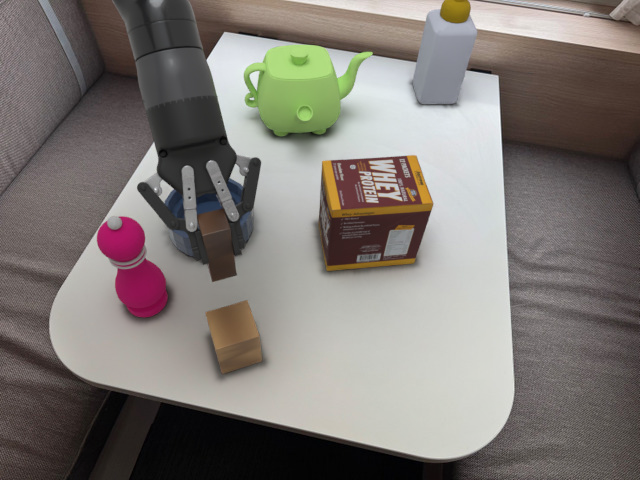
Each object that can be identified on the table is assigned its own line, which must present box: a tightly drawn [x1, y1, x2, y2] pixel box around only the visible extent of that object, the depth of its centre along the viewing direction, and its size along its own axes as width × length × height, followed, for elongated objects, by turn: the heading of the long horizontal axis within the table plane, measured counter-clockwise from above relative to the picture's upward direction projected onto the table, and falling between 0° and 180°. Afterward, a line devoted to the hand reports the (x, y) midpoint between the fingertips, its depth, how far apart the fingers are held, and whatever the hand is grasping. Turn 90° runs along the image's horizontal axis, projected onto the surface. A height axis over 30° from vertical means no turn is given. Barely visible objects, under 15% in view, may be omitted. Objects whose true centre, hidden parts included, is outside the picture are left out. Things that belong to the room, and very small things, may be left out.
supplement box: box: [317, 154, 435, 272], centre depth 84 cm, size 10×15×16 cm
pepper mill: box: [96, 215, 168, 318], centre depth 73 cm, size 7×7×20 cm
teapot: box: [243, 44, 374, 137], centre depth 102 cm, size 25×22×16 cm
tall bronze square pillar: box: [197, 209, 238, 283], centre depth 59 cm, size 3×3×9 cm
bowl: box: [164, 177, 254, 258], centre depth 89 cm, size 14×14×6 cm
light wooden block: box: [204, 299, 263, 375], centre depth 74 cm, size 6×6×8 cm
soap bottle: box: [411, 0, 478, 105], centre depth 107 cm, size 9×9×25 cm
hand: (221, 258), depth 57 cm, fingers closed on tall bronze square pillar, 3 cm apart
